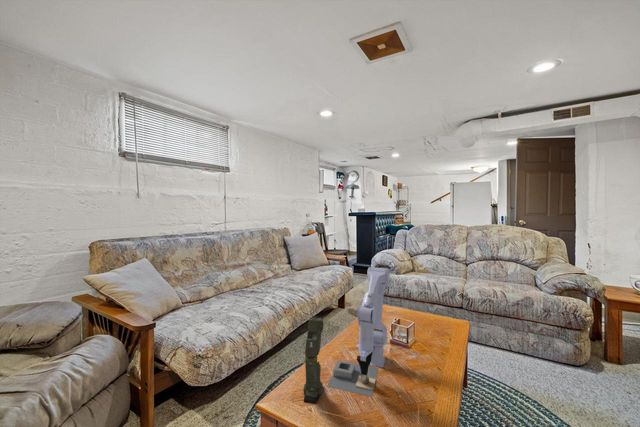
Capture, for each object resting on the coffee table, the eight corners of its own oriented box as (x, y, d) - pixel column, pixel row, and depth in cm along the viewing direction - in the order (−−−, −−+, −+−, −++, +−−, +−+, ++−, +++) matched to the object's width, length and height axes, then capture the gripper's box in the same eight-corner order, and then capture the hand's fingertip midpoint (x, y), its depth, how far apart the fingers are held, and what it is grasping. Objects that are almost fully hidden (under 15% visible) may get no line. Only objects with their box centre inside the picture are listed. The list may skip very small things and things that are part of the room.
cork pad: (359, 376, 117) (359, 375, 117) (375, 380, 114) (375, 378, 114) (355, 386, 110) (355, 385, 110) (373, 390, 108) (373, 389, 108)
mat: (339, 361, 129) (339, 360, 129) (378, 368, 123) (378, 367, 123) (327, 387, 110) (327, 386, 110) (371, 397, 104) (371, 396, 104)
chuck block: (338, 366, 124) (338, 359, 124) (355, 369, 122) (355, 363, 122) (333, 376, 117) (333, 369, 117) (351, 380, 114) (351, 373, 114)
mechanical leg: (317, 410, 97) (321, 320, 103) (297, 407, 98) (303, 318, 104) (324, 394, 110) (327, 315, 116) (306, 391, 111) (311, 314, 118)
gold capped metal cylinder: (362, 378, 115) (362, 359, 114) (370, 380, 113) (370, 361, 113) (360, 383, 112) (359, 363, 111) (368, 385, 110) (368, 365, 110)
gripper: (360, 327, 120) (359, 358, 120) (352, 343, 106) (352, 377, 107) (376, 330, 118) (375, 361, 118) (371, 346, 104) (370, 381, 104)
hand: (365, 369), depth 112 cm, fingers open, 7 cm apart
